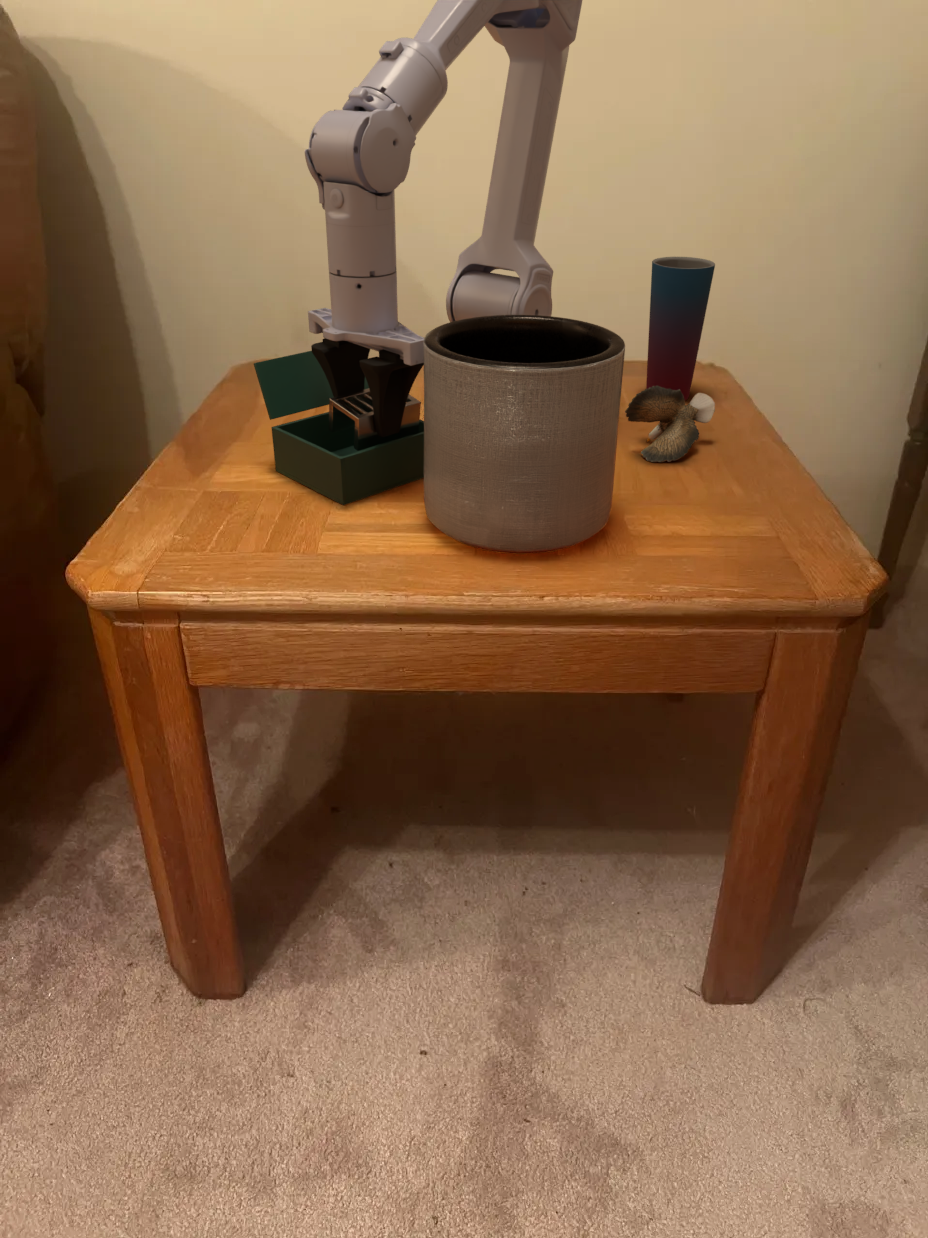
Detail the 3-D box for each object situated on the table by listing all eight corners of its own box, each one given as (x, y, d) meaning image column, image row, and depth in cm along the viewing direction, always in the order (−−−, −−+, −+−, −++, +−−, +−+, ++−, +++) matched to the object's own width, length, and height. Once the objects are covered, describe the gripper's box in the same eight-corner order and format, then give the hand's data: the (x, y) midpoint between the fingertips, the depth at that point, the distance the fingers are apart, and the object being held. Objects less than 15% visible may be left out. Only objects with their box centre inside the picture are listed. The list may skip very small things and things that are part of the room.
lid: (271, 419, 88) (269, 419, 88) (370, 393, 95) (368, 393, 95) (255, 362, 86) (253, 363, 87) (356, 340, 93) (354, 341, 94)
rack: (389, 413, 91) (391, 382, 89) (418, 433, 88) (421, 401, 86) (328, 430, 87) (328, 397, 85) (357, 451, 84) (358, 418, 83)
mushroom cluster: (634, 415, 102) (605, 424, 94) (680, 363, 98) (653, 369, 90) (685, 464, 101) (659, 478, 93) (732, 414, 97) (710, 424, 89)
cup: (701, 405, 108) (721, 268, 101) (642, 404, 109) (657, 267, 101) (690, 387, 114) (708, 256, 107) (634, 386, 114) (647, 256, 107)
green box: (275, 470, 91) (271, 426, 88) (372, 441, 97) (370, 400, 95) (343, 505, 84) (340, 458, 82) (442, 471, 91) (442, 427, 88)
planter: (422, 483, 88) (419, 313, 80) (592, 480, 89) (606, 312, 81) (426, 563, 75) (423, 367, 66) (627, 559, 75) (648, 365, 67)
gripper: (274, 264, 82) (288, 415, 89) (379, 292, 73) (385, 458, 80) (340, 254, 86) (348, 399, 93) (447, 279, 77) (447, 438, 84)
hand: (369, 425), depth 87 cm, fingers closed on rack, 5 cm apart
